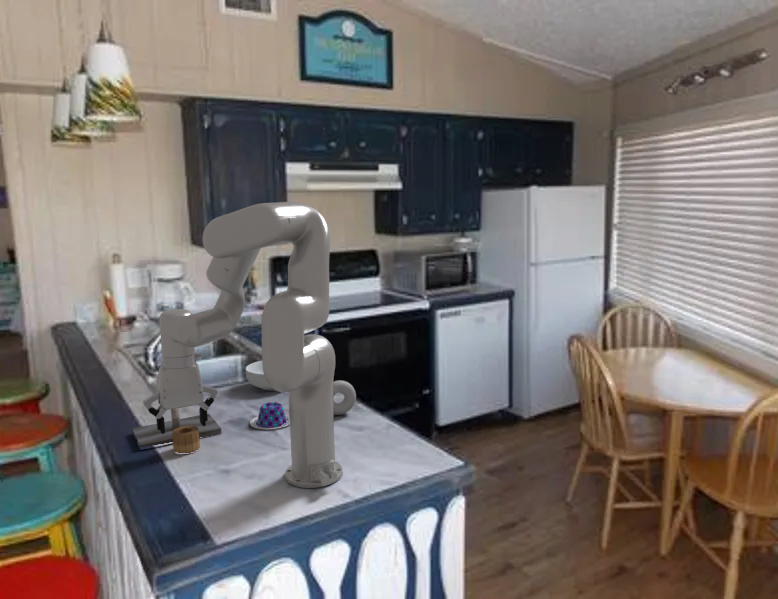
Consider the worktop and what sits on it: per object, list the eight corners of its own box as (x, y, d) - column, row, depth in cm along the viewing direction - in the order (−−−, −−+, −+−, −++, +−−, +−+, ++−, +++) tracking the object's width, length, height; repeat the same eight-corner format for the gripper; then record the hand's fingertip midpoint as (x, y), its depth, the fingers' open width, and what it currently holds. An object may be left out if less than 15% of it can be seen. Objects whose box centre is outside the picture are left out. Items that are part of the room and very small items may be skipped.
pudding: (250, 417, 172) (249, 400, 171) (293, 413, 174) (292, 396, 174) (249, 433, 160) (248, 414, 160) (295, 429, 163) (294, 410, 162)
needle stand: (221, 433, 160) (219, 402, 159) (140, 451, 150) (137, 418, 149) (209, 418, 171) (207, 389, 170) (132, 433, 161) (129, 403, 160)
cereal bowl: (246, 397, 189) (244, 375, 187) (247, 381, 205) (245, 361, 204) (301, 392, 192) (300, 371, 191) (298, 377, 208) (297, 357, 207)
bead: (202, 451, 149) (200, 431, 149) (176, 456, 146) (175, 437, 146) (196, 442, 155) (195, 424, 154) (171, 448, 152) (170, 429, 151)
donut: (323, 419, 169) (322, 384, 167) (320, 415, 172) (319, 381, 170) (358, 414, 172) (357, 380, 170) (354, 410, 175) (353, 376, 174)
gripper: (211, 352, 154) (214, 416, 157) (138, 362, 146) (143, 429, 149) (219, 359, 148) (222, 426, 151) (143, 370, 139) (148, 440, 142)
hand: (183, 428), depth 150 cm, fingers open, 9 cm apart
